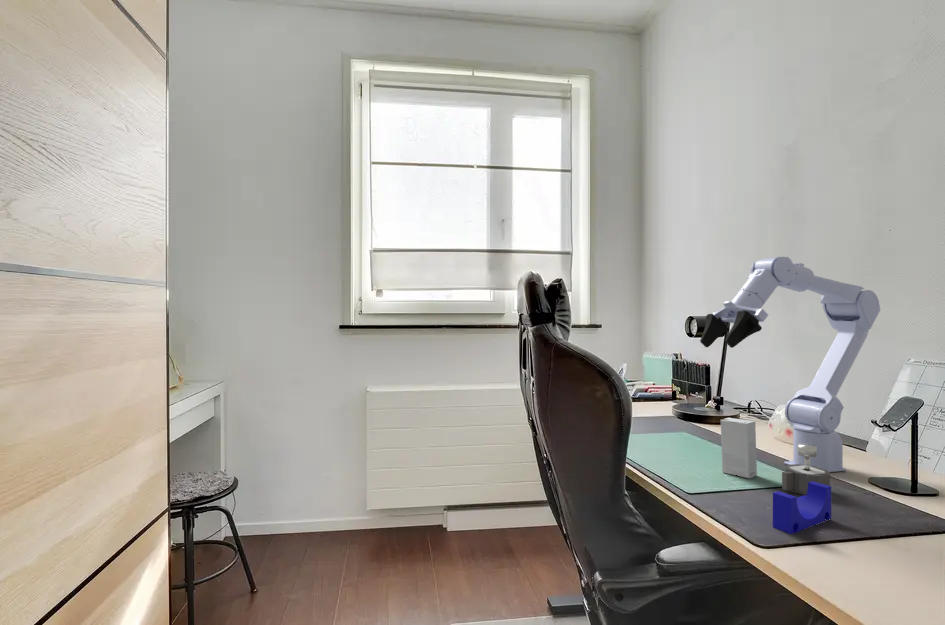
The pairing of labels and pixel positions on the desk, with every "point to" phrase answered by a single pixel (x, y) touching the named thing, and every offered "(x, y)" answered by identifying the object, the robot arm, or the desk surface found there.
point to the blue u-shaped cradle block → (802, 508)
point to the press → (803, 478)
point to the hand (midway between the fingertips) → (715, 344)
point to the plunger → (807, 453)
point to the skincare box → (738, 447)
